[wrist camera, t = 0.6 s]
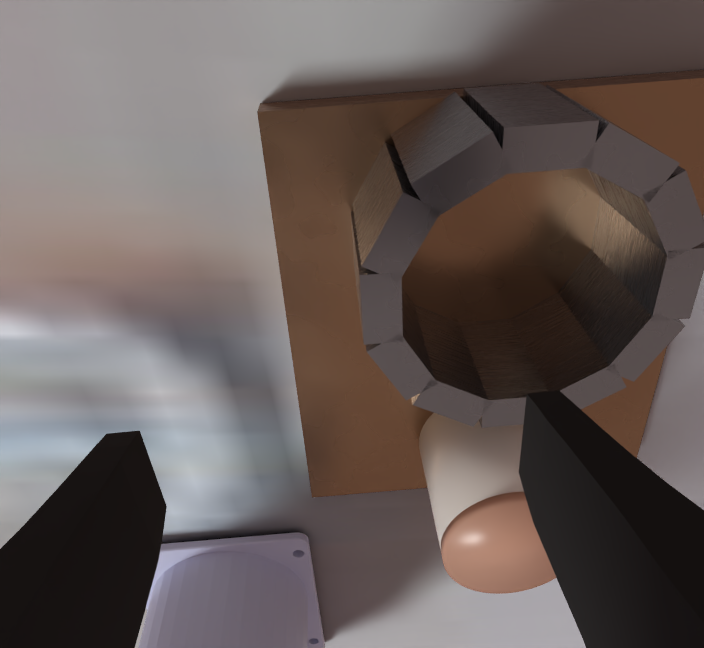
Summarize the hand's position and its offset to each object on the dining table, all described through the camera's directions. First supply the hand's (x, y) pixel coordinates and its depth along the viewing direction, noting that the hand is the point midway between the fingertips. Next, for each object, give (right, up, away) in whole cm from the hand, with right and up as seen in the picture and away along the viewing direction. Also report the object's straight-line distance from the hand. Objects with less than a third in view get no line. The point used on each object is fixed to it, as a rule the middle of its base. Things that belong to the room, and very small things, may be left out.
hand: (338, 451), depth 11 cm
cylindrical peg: (+5, -2, +11) cm, 13 cm away
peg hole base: (+5, +3, +9) cm, 11 cm away
